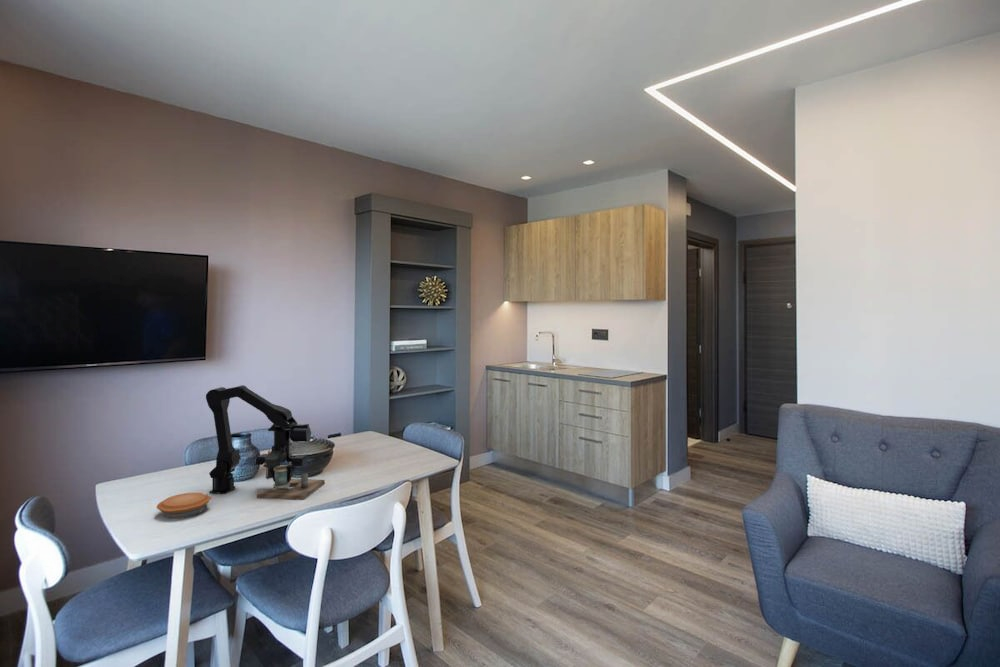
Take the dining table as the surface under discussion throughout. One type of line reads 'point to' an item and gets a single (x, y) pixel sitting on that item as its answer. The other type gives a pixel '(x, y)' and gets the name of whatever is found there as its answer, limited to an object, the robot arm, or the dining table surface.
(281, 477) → the thread spool
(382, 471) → the dining table surface
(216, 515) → the dining table surface
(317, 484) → the walnut notched board
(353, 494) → the dining table surface
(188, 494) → the pie
